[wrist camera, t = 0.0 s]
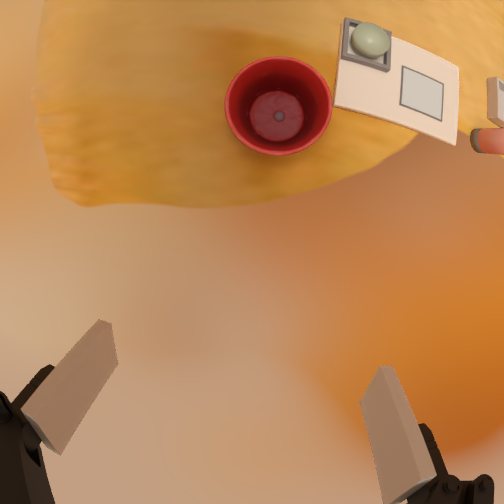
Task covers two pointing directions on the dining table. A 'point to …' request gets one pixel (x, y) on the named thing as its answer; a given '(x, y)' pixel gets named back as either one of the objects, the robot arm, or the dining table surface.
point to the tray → (495, 101)
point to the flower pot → (278, 105)
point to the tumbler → (488, 140)
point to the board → (399, 86)
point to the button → (370, 40)
